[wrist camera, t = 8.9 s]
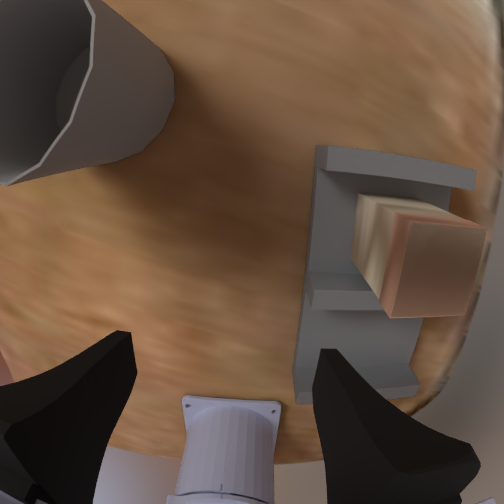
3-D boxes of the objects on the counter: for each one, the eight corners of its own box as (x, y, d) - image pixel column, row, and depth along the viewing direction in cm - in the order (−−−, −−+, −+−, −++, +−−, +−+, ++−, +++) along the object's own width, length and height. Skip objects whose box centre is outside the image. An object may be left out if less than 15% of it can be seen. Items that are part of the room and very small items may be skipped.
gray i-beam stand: (400, 368, 23) (415, 396, 19) (292, 371, 23) (295, 404, 20) (446, 164, 18) (476, 170, 14) (315, 145, 18) (328, 145, 14)
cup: (42, 123, 17) (-68, 130, 8) (104, 20, 15) (12, -35, 6) (128, 186, 19) (27, 227, 9) (203, 73, 16) (146, 10, 7)
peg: (408, 261, 19) (464, 315, 12) (349, 259, 19) (389, 318, 12) (418, 198, 17) (486, 228, 11) (357, 191, 17) (409, 220, 11)
